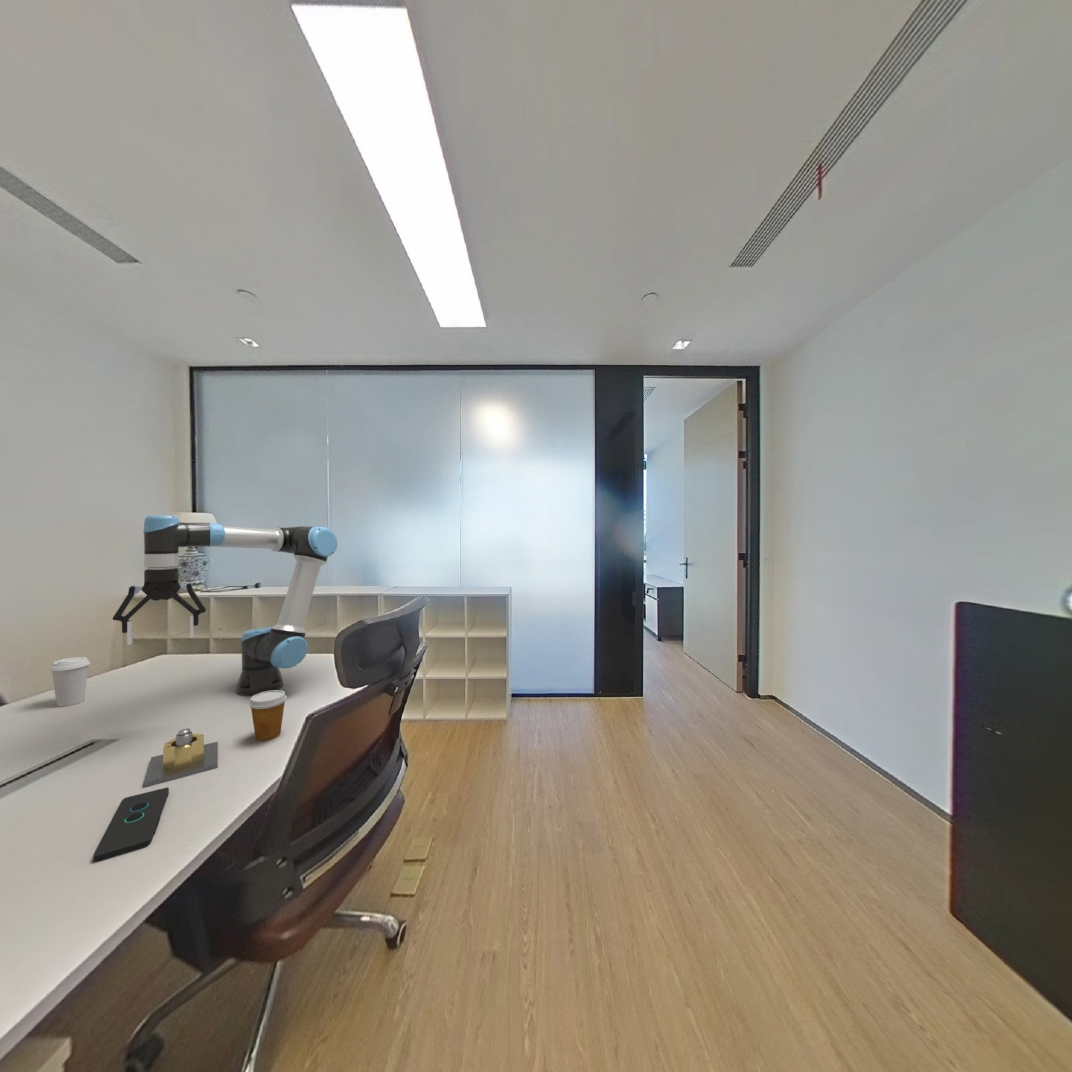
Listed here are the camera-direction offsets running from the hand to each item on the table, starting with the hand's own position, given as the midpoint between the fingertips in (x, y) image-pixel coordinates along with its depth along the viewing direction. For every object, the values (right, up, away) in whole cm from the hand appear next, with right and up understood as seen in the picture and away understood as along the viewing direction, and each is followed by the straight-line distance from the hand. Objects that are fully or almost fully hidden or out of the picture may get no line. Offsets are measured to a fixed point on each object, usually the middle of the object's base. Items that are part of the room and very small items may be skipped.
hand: (162, 640), depth 123 cm
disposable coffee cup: (+30, -29, +2) cm, 42 cm away
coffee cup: (-53, -28, +23) cm, 64 cm away
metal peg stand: (+18, -29, -13) cm, 37 cm away
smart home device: (+26, -30, -35) cm, 53 cm away
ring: (+18, -28, -13) cm, 36 cm away
